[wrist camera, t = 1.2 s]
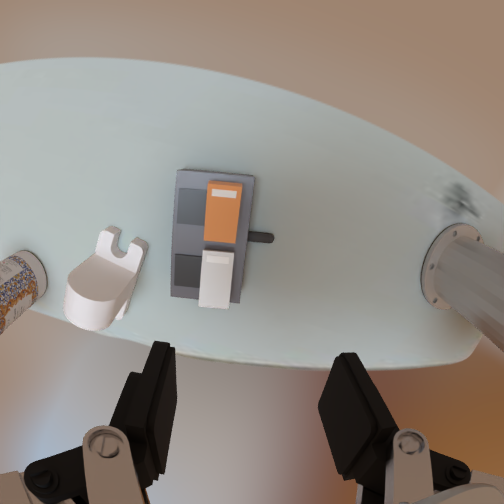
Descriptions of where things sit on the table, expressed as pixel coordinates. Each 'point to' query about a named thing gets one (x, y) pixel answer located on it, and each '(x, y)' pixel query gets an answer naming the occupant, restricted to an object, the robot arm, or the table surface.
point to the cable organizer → (103, 282)
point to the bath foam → (19, 286)
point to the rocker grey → (216, 279)
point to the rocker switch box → (192, 231)
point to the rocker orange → (222, 211)
